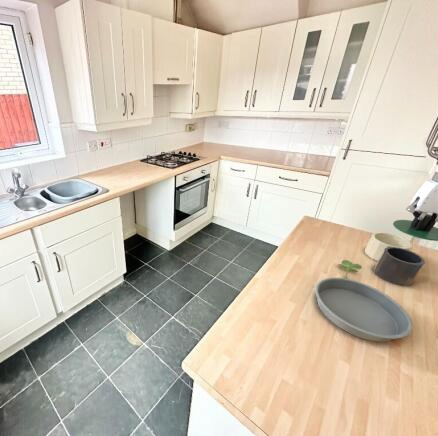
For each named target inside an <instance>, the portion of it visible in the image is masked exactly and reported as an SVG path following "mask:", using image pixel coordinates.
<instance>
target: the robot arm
mask: <svg viewBox="0 0 438 436" xmlns="http://www.w3.org/2000/svg"><path fill="white" fill-rule="evenodd" d="M405 210H406V211H407V212H409V213H411V214H412V215H413V217H414V218H413V220H411V221H412V223H411V227H412V228H413V229H414V230H419V228H420V227H421V225H422V223H423V222H424V221H423V220H422V219H423V218H424V217H425V215H426V214H428V213H431V214H430V215H432V216H433V217H432V219H431V221H430V222H429V224H428V225H427V227H426V229H425V231H427V232H430V230H431V229H432V228H433V227H435V225H436V224H437V223H438V167H437V169H436V170H435V172H434V173H433V175H432V177H431V178H430V179H427V180H426V181H425V182H424V183H423V184H422V185H421V186H420V187H419V189H418V190H417V191H416V193H415V194H414V195H413V197H412V198H411V201H410V202H409V206H407V207H406V208H405Z"/></svg>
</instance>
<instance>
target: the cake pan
mask: <svg viewBox="0 0 438 436" xmlns="http://www.w3.org/2000/svg"><path fill="white" fill-rule="evenodd" d="M315 295H316V298H317V299H316V300H317V306H318V307H319V309H320V311H321V312H322V313H323V315H324V316H325V317H326V318H327V319H328V320H329V321H330V322H331V323H333V324H334V325H335V326H337V327H338V328H339V329H341V330H342V331H345V332H346V333H348V334H350V335H353V336H355V337H358V338H360V339H363V340H366V341H372V342H376V343H377V342H381V343H382V342H384V343H385V342H389V341H393V340H396V339H402V338H405V337H408V336H409V335H410V334H412V331H413V327H414V326H413V321H412V318H411V316H410V315H409V314H408V312H407V311H406V310H405V309H404V307H403V306H402V305H400V304H399V303H398V302H397V301H396V300H395V299H393V298H392V297H390V296H389V295H388V294H386V293H385V292H382V291H381V290H379V289H378V288H375V287H373V286H371V285H368V284H366V283H363V282H361V281H357V280H354V279H350V278H347V277H327V278H324V279H321V280H320V281H318V283H317V284H316V285H315Z"/></svg>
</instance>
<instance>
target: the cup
mask: <svg viewBox="0 0 438 436" xmlns="http://www.w3.org/2000/svg"><path fill="white" fill-rule="evenodd" d="M425 263H426V260H425V258H423V257H422V256H421V255H420V254H418V253H416V252H414V251H411V250H410V251H409V250H406V249H403V248H398V247H387V248H385V249H384V251H383V252H382V254H381V256H380V258H379V260H378V261H376V264H375V265H374V267H373V273H374V274H375V275H376V276H378V277H379V278H380V279H382V280H384V281H386V282H388V283H390V284H393V285H398V286H409V285H411V284H412V283H413V282H414V280H415V279H416V278H417V276H418V274H419V273H420V271H421V269H422V268H423V267H424V265H425Z"/></svg>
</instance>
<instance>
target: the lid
mask: <svg viewBox="0 0 438 436" xmlns="http://www.w3.org/2000/svg"><path fill="white" fill-rule="evenodd" d="M432 217H433V216H432V215H431V214H428V213H427V214H426V215H425V217H424V218H423V219H422V220H423V221H424V222H423V223H422V225H421V227H420V228H419V230H414V229H413V228H412V227H411V223H412V221H413V220H410V219H409V220H408V219H396V220H394V221H393V223H392V225H393V227H394V228H395V229H396V230H398V231H399V232H402V233H403V234H406V235H408V236H410V237H414V238H418V239H420V240H421V239H422V240H427V241H432V242H433V241H434V242H438V227H436V226H433V228H432V229H431V230H430V232H427V231H425V229H426V227H427V225H428V224H429V222H430V221H431V219H432Z"/></svg>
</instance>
